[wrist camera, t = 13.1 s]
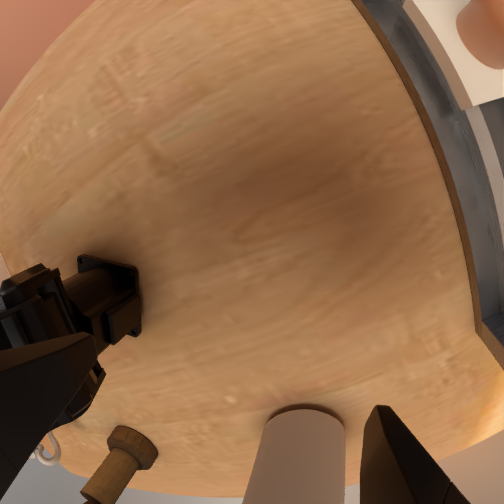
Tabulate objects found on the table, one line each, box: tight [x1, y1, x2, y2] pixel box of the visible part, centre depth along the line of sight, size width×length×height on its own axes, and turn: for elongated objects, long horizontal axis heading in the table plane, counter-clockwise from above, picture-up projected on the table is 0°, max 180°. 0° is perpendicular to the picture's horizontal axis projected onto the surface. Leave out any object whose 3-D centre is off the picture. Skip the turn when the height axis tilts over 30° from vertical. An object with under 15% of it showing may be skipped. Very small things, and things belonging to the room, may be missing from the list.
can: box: [242, 409, 345, 504], centre depth 19 cm, size 8×8×12 cm
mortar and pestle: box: [80, 426, 158, 504], centre depth 23 cm, size 7×6×18 cm
